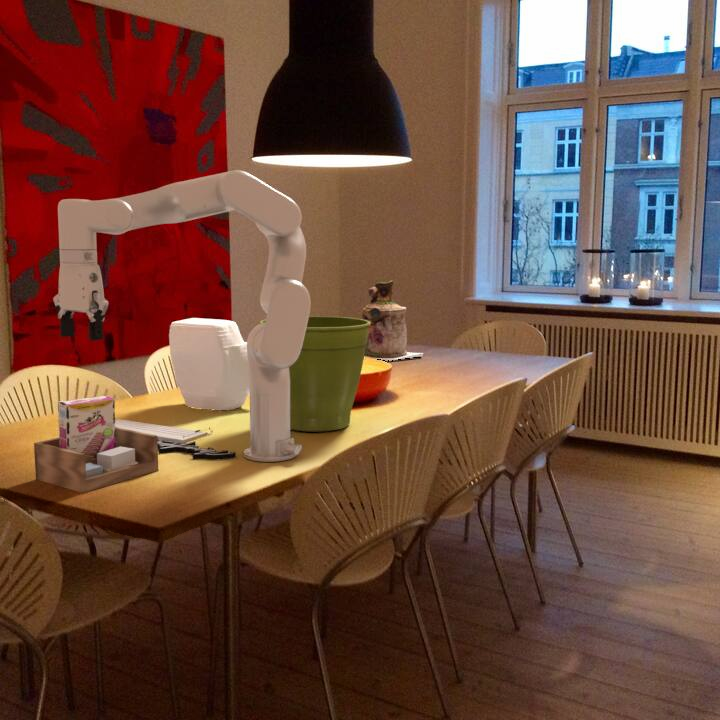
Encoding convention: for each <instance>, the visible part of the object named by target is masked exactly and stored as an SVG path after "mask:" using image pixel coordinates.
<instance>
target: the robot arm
mask: <svg viewBox="0 0 720 720" xmlns="http://www.w3.org/2000/svg"><path fill="white" fill-rule="evenodd" d="M233 211H236V212H238V213H239V214H241V215H243V216H244V217H246V218H247V219H249V220H250V221H252V222H254V223H255V226H256V227H257V229H258V230H259V231H260V232H261V233H262V234H263V235H264V236H265V238H266V240H267V243H268V247H269V248H268V249H269V253H268V260H267V261H268V262H267V267H266V270H265V271H266V272H265V274H264V280H263V284H262V288H261V290H260V295H259V296H260V297H259V302H260V303H259V304H260V306H261V308H262V310H263V311H264V312H265V314H266V316H265V319H266V322H265V323H261V324H260V323H259V324H258V325H256V326H254V327H253V328H252V329H251V331H250V332H249V334H248V335H247V336H248V337H247V340H246V342H247V357H248V365H249V381H250V391H249V431H250V432H249V435H250V436H249V439H250V441H249V442H250V446H249V447H247V448H246V449H244V451H243V456H244V458H245V459H247V460H250V461H254V462H262V463H263V462H265V463H270V462H271V463H274V462H282V461H288V460H292V459H294V458H295V457H297V456H298V455H299V454H300V452H301V451H302V449H303V446H302V444H298V443H295V437H294V436H292V435H291V433H292V431H291V430H292V429H291V427H290V371H289V367H290V366H291V365H293V364H294V363H295V362H296V360H297V359H298V357H299V355H300V352H301V349H302V345H303V341H304V337H305V332H306V328H307V323H308V319H309V316H310V313H311V302H312V301H311V296H310V292H309V291H308V289H307V288H306V287H307V286H305V285H304V284H303V278H304V272H305V265H306V259H307V244H306V239H305V236H304V233H303V230H302V228H301V224H302V220H303V216H302V211H301V209H300V206H299V205H298V204H297V203H296V202H295V201H294V200H293V199H292V198H290V196H287V195H285V194H283V193H282V192H280V191H279V190H278V189H275V188H274V187H272V186H270V185H269V184H267V183H266V182H264V181H262V180H261V179H259V178H258V177H256V176H254V175H252V174H251V173H249V172H246V171H245V170H240V169H234V170H231V171H229V170H228V171H225V172H221V173H216V174H211V175H207V176H201V177H197V178H193V179H192V178H191V179H188V180H184V181H183V180H182V181H176V182H173V183H170V184H167V185H164V186H161V187H158V188H156V189H152V190H147V191H144V192H140V193H136V194H131V195H126V196H122V197H121V196H120V197H116V198H107V199H100V200H98V199H97V200H90V199H83V198H81V199H80V198H67V199H65V198H64V199H61V200H60V201H59V202H58V205H57V217H58V218H57V220H58V222H57V223H58V245H59V265H60V266H59V273H58V293H57V294H56V295H55V296H54V297H53V298H52V299H53V303H54V305H55V311H56V313H57V318H58V319H59V329H60V337H61V338H67V337H74V336H75V335H76V334H75V318H74V317H73V315H74V313H76V312H78V313H86V315H87V316H88V319H89V320H90V321H88V323H87V324H88V340H89V341H91V342H94V341H102V340H103V339H104V328H103V327H104V326H103V325H104V324H103V322H104V321H105V316H106V315H107V311H108V308H109V304H110V303H109V301H108V300H107V299H106V298H105V293H104V285H103V278H102V272H101V268H100V265H99V264H98V251H97V250H98V249H97V248H98V247H97V233H100V234H101V233H102V234H108V235H116V236H117V235H122V234H125V233H126V232H128V231H132V230H137V229H142V228H146V227H152V226H157V225H164V224H165V225H166V224H179V223H183V222H184V223H185V222H188V221H192V220H196V219H197V220H198V219H201V218H206V217H210V216H214V215H219V214H223V213H229V212H233Z"/></svg>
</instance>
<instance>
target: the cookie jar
mask: <svg viewBox="0 0 720 720" xmlns="http://www.w3.org/2000/svg"><path fill="white" fill-rule="evenodd" d="M393 286H394V280H390V281H389V282H377V283H376V284H375V285H374V286H372V287H370V288H368V296H369V297H370V298H371V300H370V303H369V304H367V305H366V306H365V307H363V308H362V310H361V319H363V320H367V321H370V326H369V327H368V336H367V344H366V346H365V353H364V356H369V357H372V358H376V359H381V360H380V361H383V360H385V362H388V360H389V362H391V361H392V360H393V361H399V360H398V359H401V360H406V359H405V358H410V359H414V358H413V357H420V356H422V357H423V355H424V353H423V352H410V351H407V350H406V348H407V343H408V336H407V329H408V328H407V325H406V315H405V314H406V312H407V307H405V306H401V305H399V304H397V303H396V302H395V301H393V299H392V297H393V295H394V291H393V289H394V287H393ZM393 361H392V362H393Z"/></svg>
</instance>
